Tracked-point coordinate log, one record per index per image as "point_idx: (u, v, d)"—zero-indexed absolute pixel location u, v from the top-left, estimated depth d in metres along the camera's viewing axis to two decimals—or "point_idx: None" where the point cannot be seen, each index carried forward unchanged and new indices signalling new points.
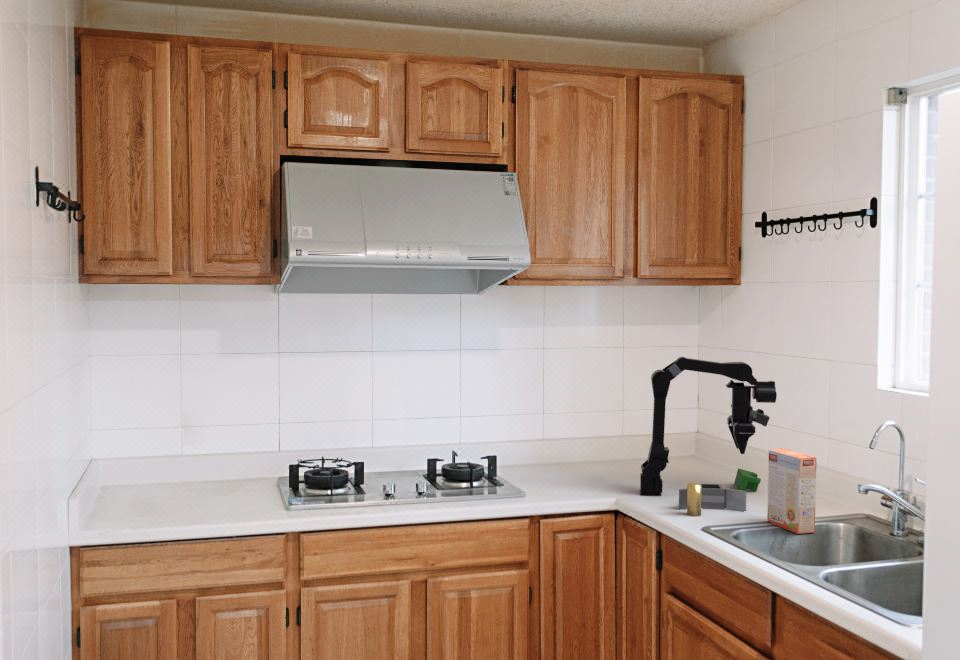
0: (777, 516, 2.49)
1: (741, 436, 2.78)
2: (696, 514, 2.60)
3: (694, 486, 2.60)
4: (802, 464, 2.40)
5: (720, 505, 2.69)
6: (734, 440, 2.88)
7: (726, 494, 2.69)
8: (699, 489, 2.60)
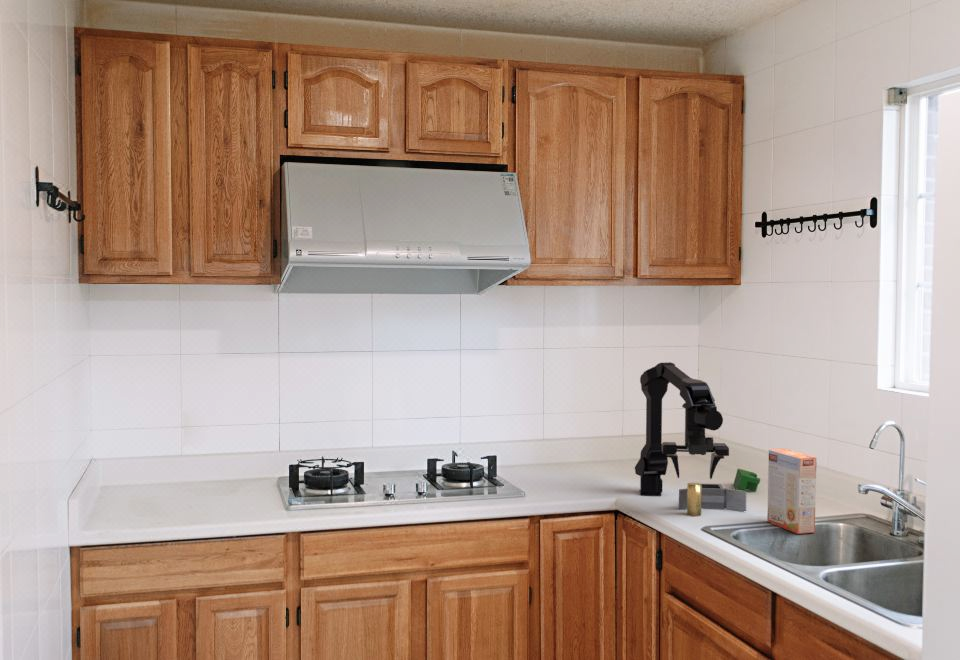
0: (777, 516, 2.49)
1: None
2: (696, 514, 2.60)
3: (694, 486, 2.60)
4: (802, 464, 2.40)
5: (720, 505, 2.69)
6: None
7: (726, 494, 2.69)
8: (699, 489, 2.60)
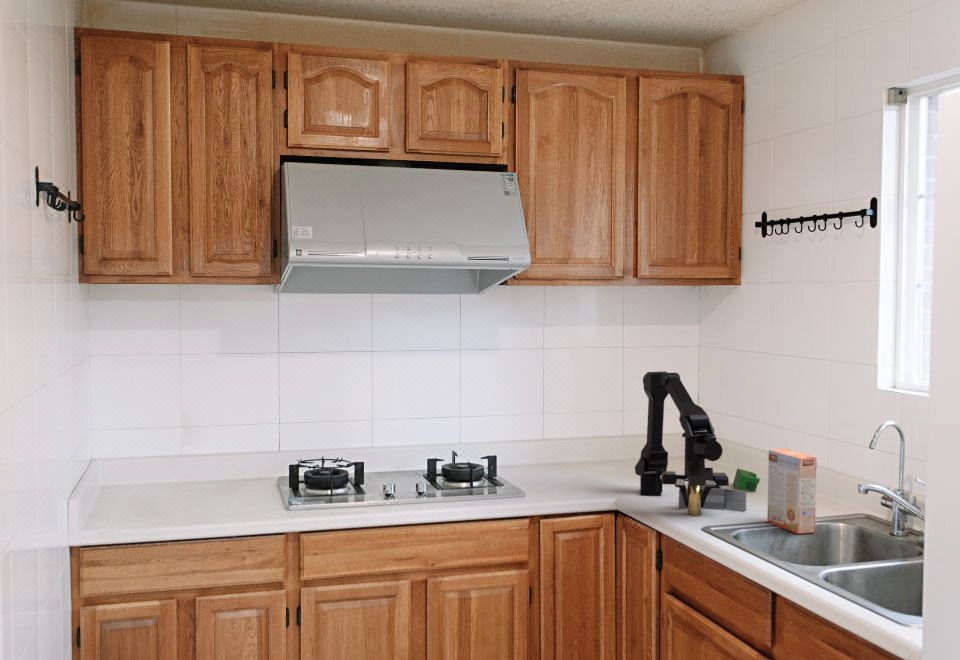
0: (777, 516, 2.49)
1: None
2: (696, 514, 2.60)
3: (694, 486, 2.60)
4: (802, 464, 2.40)
5: (720, 505, 2.69)
6: (701, 498, 2.63)
7: (726, 494, 2.69)
8: (699, 489, 2.60)
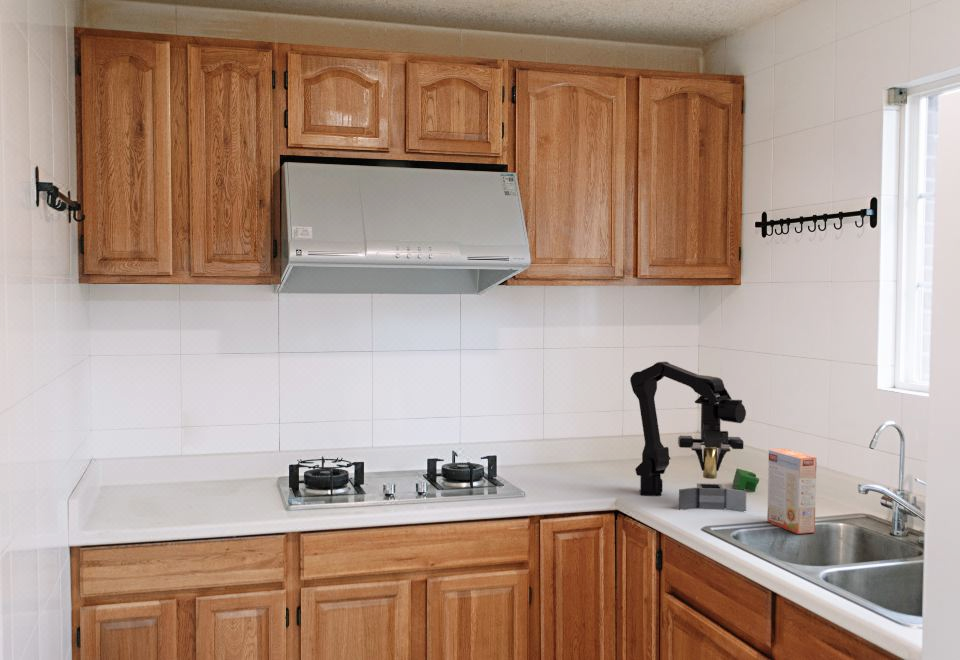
0: (777, 516, 2.49)
1: None
2: (712, 476, 2.70)
3: (710, 449, 2.69)
4: (802, 464, 2.40)
5: (720, 505, 2.69)
6: None
7: (726, 494, 2.69)
8: (715, 452, 2.70)
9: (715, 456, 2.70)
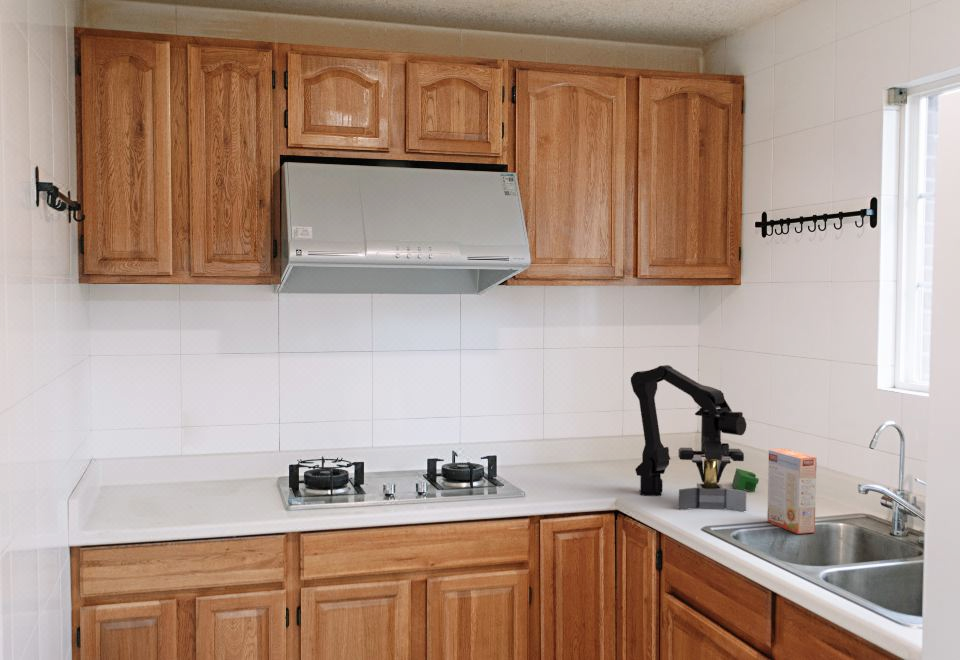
0: (777, 516, 2.49)
1: None
2: None
3: (710, 461, 2.70)
4: (802, 464, 2.40)
5: (720, 505, 2.69)
6: None
7: (726, 494, 2.69)
8: (715, 464, 2.70)
9: (715, 468, 2.70)
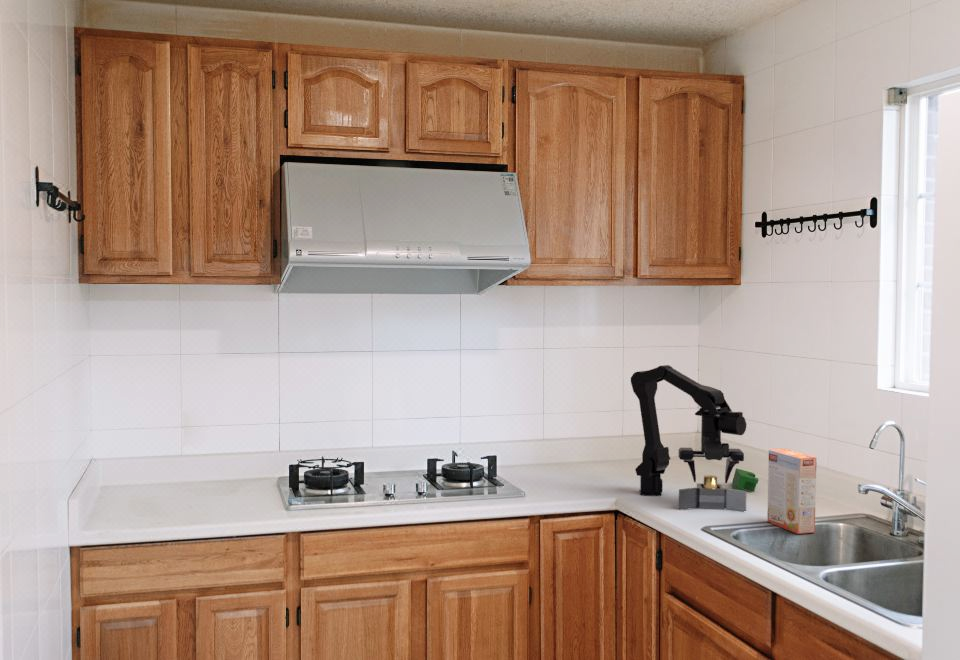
0: (777, 516, 2.49)
1: None
2: None
3: (710, 478, 2.70)
4: (802, 464, 2.40)
5: (720, 505, 2.69)
6: (725, 473, 2.73)
7: (726, 494, 2.69)
8: (715, 481, 2.70)
9: (715, 485, 2.71)
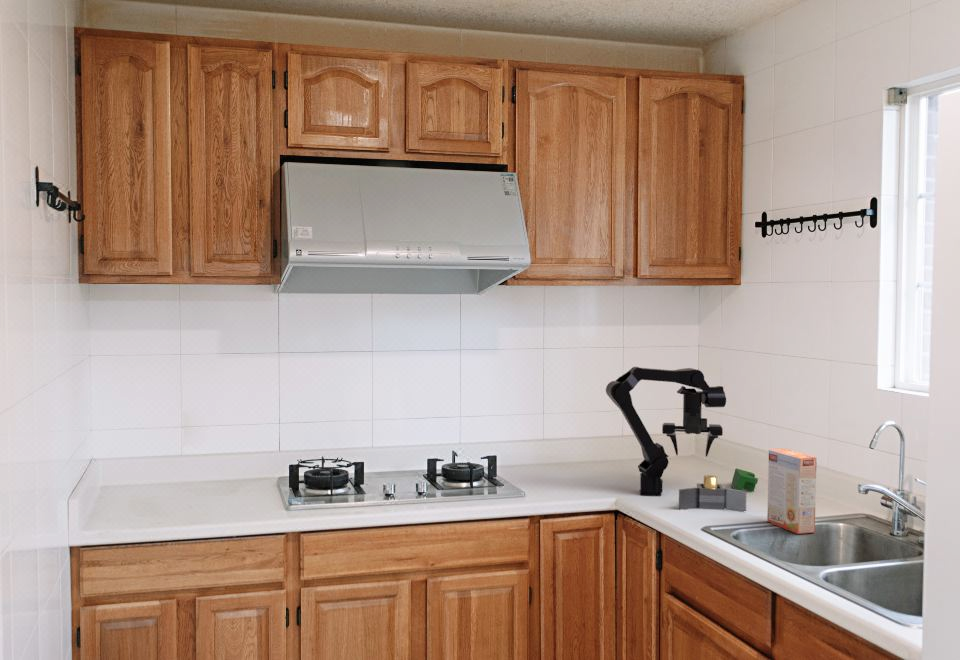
0: (777, 516, 2.49)
1: None
2: None
3: (710, 478, 2.70)
4: (802, 464, 2.40)
5: (720, 505, 2.69)
6: None
7: (726, 494, 2.69)
8: (715, 481, 2.70)
9: (715, 485, 2.71)
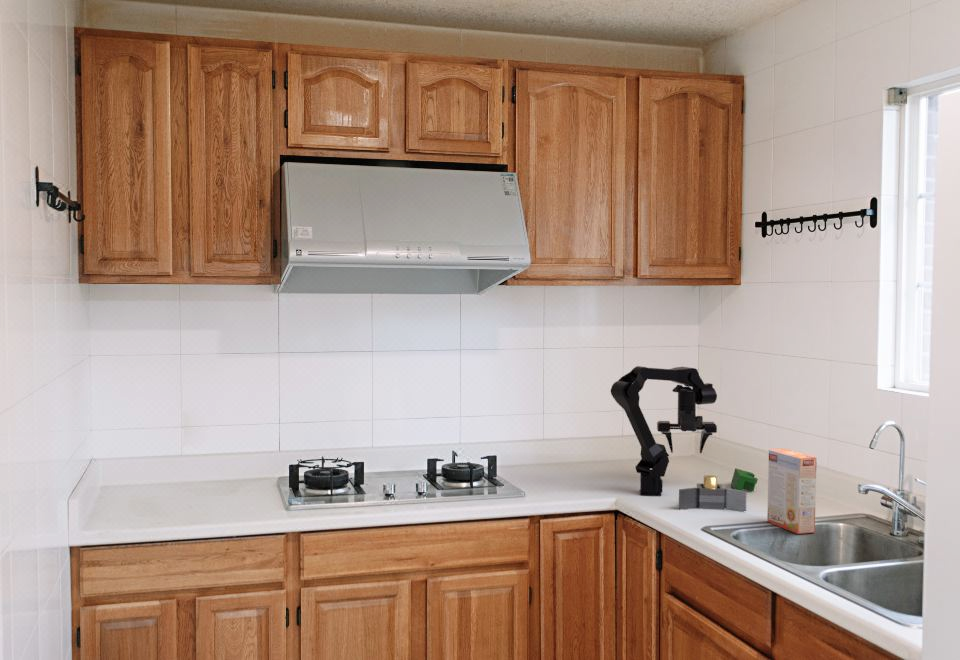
0: (777, 516, 2.49)
1: None
2: None
3: (710, 478, 2.70)
4: (802, 464, 2.40)
5: (720, 505, 2.69)
6: None
7: (726, 494, 2.69)
8: (715, 481, 2.70)
9: (715, 485, 2.71)
